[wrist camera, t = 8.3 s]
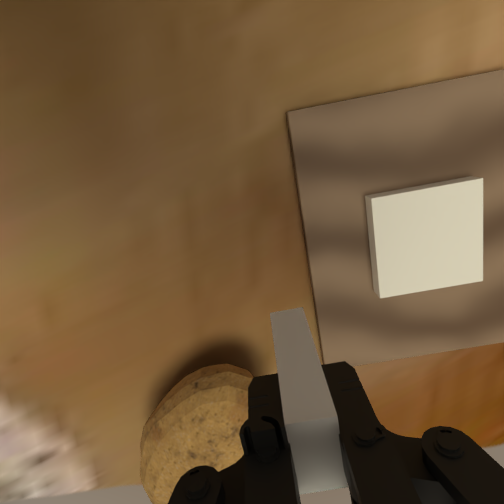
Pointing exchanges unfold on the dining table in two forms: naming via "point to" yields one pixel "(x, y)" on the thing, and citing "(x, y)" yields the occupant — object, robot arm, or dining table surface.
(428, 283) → the tile
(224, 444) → the potato
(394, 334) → the board
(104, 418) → the dining table surface
